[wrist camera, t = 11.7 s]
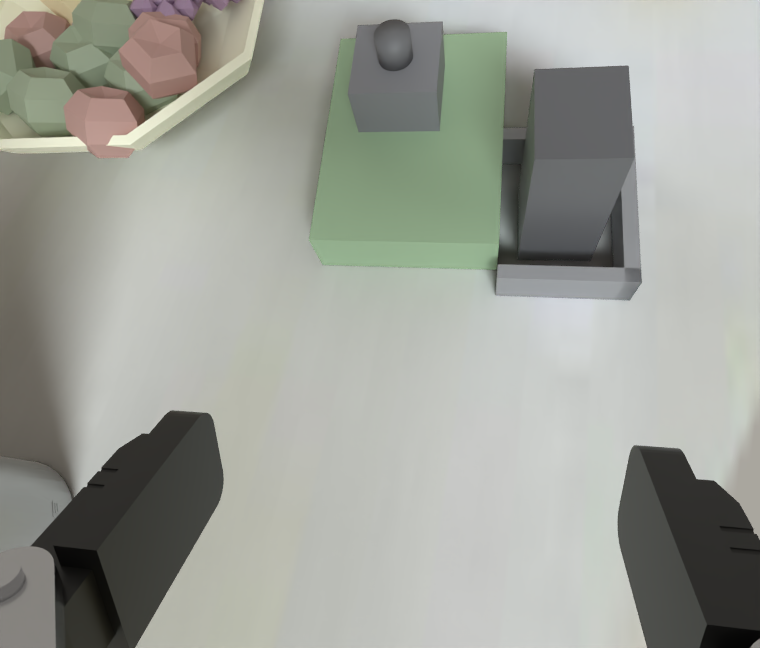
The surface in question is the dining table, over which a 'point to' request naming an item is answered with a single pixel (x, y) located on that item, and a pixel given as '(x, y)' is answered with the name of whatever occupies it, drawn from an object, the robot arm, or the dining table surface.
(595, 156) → the tall grey cuboid
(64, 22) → the dish with food
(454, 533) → the dining table surface
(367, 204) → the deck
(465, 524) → the dining table surface
